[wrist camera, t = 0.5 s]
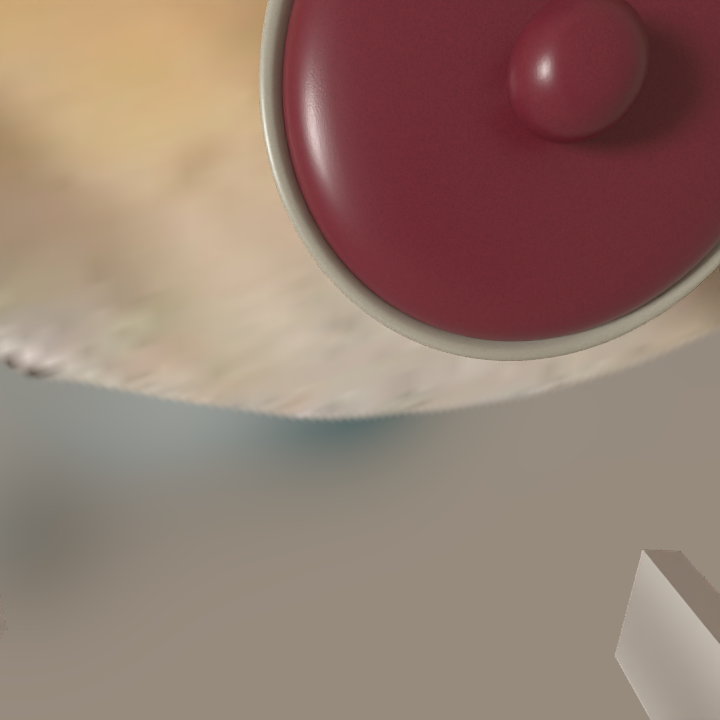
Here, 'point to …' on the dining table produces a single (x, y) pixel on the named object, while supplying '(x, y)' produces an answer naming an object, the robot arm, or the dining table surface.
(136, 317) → the dining table surface
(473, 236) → the canister
